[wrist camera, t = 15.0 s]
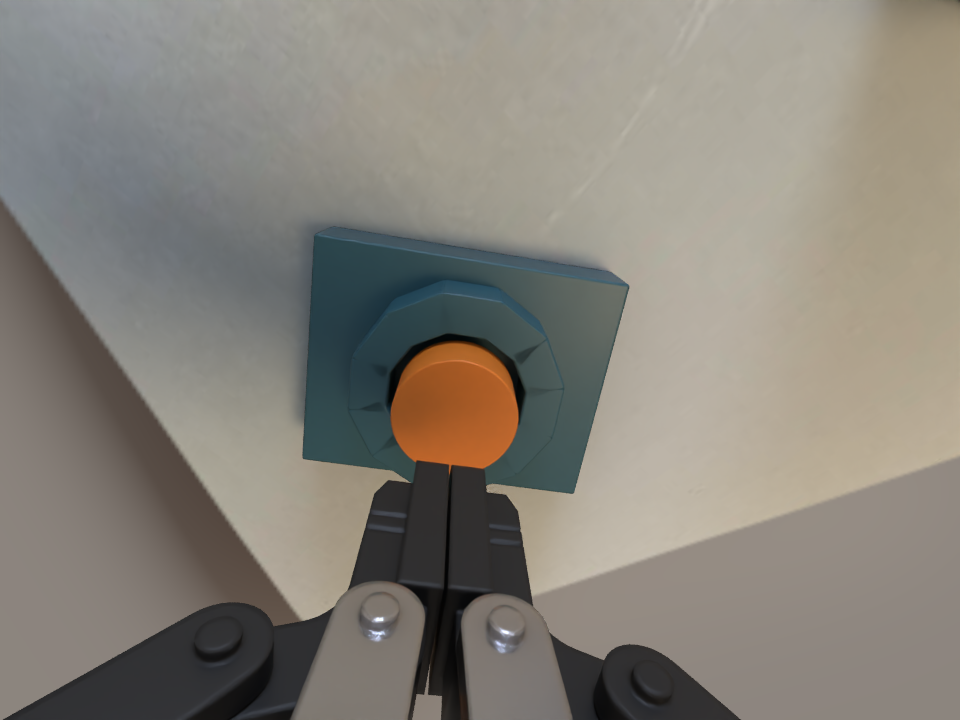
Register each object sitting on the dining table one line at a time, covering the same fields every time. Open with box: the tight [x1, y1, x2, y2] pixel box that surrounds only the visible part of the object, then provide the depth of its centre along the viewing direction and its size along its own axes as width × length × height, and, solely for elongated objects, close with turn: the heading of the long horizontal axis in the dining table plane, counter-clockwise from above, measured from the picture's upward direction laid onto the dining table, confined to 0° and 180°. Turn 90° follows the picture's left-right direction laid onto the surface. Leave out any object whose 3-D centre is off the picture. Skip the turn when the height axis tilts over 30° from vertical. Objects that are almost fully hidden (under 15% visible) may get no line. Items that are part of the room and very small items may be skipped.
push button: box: [391, 340, 518, 474], centre depth 15 cm, size 4×4×2 cm
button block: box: [302, 227, 629, 494], centre depth 18 cm, size 10×8×4 cm
